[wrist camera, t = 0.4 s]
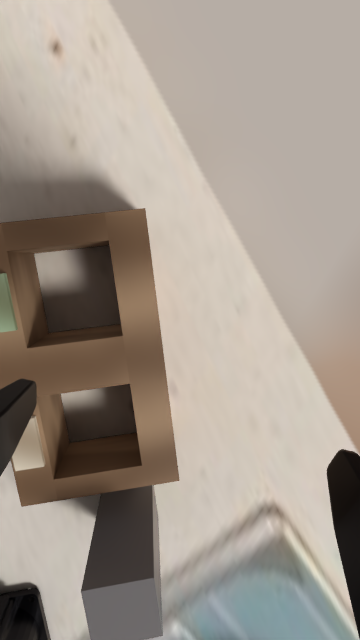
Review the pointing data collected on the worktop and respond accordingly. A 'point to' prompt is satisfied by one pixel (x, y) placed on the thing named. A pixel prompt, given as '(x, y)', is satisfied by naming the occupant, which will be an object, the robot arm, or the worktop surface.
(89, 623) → the plug
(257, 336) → the worktop surface
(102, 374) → the socket block
